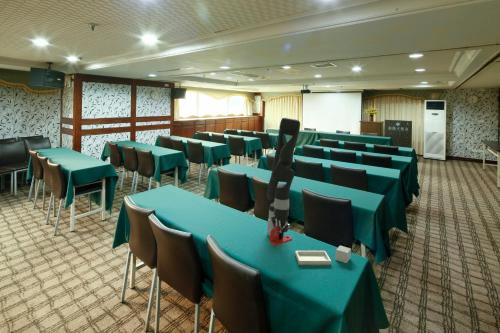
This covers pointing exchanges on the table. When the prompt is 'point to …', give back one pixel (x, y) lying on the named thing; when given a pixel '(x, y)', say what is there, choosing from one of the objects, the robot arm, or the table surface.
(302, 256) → the holder tray
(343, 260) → the white cube
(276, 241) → the bracket
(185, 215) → the table surface
